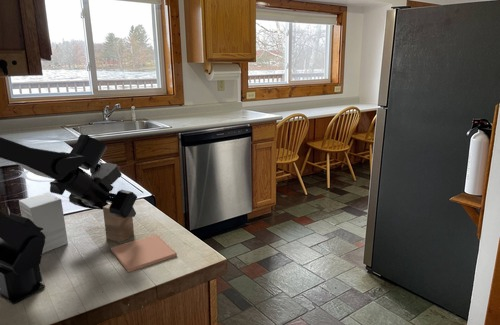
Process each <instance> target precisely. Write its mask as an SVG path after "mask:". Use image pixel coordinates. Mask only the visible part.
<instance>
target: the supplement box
mask: <svg viewBox="0 0 500 325" xmlns="http://www.w3.org/2000/svg"><path fill="white" fill-rule="evenodd" d="M18 205H19V210H20V216H22V217H26V218H29V219H30V220H31V221H32V222H33V223H34V224H35V225H36V226H38V227H41V228H43V230H41V232H43V234H44V235H45V237H46V238H45V244H44V247H43V252H42V254H45V253H47V252H50V251H53V250H54V249H57V248H60V247H62V246H65V245H68V243H69V241H68V235H67V228H66V223H65V215H64V208H63V201H62V199H61V198H60V197H58V196H57V195H54V194H53V193H51V192H45V193H42V194H38V195H33V196H30V197H27V198H23V199H19V200H18Z"/></svg>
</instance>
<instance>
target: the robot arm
mask: <svg viewBox="0 0 500 325" xmlns="http://www.w3.org/2000/svg"><path fill="white" fill-rule="evenodd" d="M107 148H108V146H107V145H106V144H105V143H104V142H103V141H99V140H98V139H97V138H94V137H92V136H90V135H88V134H85V133H81V134H79V136H78V138H77V141H76V142H75V144H74V146H73V147H72V149H71V151H70V152H66V151H61V152H60V151H55V150H54V151H53V150H49V149H42V148H34V147H31V146H27V145H24V144H21V143H18V142H16V141H13V140H10V139H6V138H3V137H1V136H0V159H1V160H4V161H7V162H10V163H12V164H13V163H14V164H16V165H18V166H20V167H21V168H22V169H24V170H25V171H28V172H30V173H32V174H34V175H35V176H38V177H39V176H40V177H44V178H48V179H52V181H50V182H49V185H50V187H49V193H50V194H55V195H59V196H62V195H63V194H64V193H65V191H67V192H68V193H70V194H69V196H68V201H69V203H71V204H73V205H74V206H79V207H82V208H86V209H95V210H102V211H103V207H104V206H106V205H108V204H110V203H111V205H110V207H109V209H110V213H112V214H113V215H115V216H118V217H122V218H126V217H133V218H135V217H136V215H137V212H136V210H135V208H134V205H135V203H136V201H137V199H138V195H137V194H136V193H135V192H133V191H130V190H127V189H126V190H125V189H121V190H118V191H117V193H112V191H113V189H114V186H113V184H115V182H116V181H117V180H118V179H119V178H121V177H122V175H123V174H122V172H121V171H120V168H119V167H118V165H117V164H116V163H111V162H105V163H104V162H101V163H99V162H100V161H101V159H102V157H103V156H104V153H105V152H106V151H107ZM86 171H89V172H90V174H89V173H88V172H86ZM41 230H43V228H41V227H38V226H36V225H35V224H34V223H33V222H32V221H31V220H30V219H29V218H26V217H22V216H21V215H18V214H16V213H13V212H11V213H9V215H8V216H7V215H6V214H4V213H3V212H2V211H0V297H2V298H3V299H4V300H6V301H7V302H9V303H10V304H17V303H19V302H20V301H22V300H25V299H26V298H28V297H30V296H32V295H34V294H36V293H37V292H39V291H42V290H43V289H45V287H46V285H45V284H44V283H42V282H43V281H42V280H43V277H42V271H41V266H40V265H41V262H42V257H43V253H42V252H43V247H44V244H45V238H46V237H45V235H44V234H43V232H41Z"/></svg>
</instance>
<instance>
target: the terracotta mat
mask: <svg viewBox="0 0 500 325" xmlns="http://www.w3.org/2000/svg"><path fill="white" fill-rule="evenodd" d="M110 250H111V252H112V253H113V255H114V256H115V257H116V258H117V259H118V261H119V263H121V265H122V267H123V268H124V269H125V270H126V272H127V273H130V272H133V271H136V270H138V269H139V270H140V269H142V268H145V267H148V266H150V265H154V264H156V263H159V262H164V261H165V260H168V259H172V258H174V257H177V253H178V252H177V251H175V250H174V249H173V248H172V247H171V246H170V245H169V244H168V243H167V242H166V241H165V240H164V239H162V238H161V237H160V236H159V235H158V234H157V233H156V234H152V235H150V236H146V237H143V238H139V239H136V240H133V241H129V242H125V243H121V244H119V245H118V244H117V245H114V246H112V247H111V248H110Z"/></svg>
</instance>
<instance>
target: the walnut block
mask: <svg viewBox="0 0 500 325" xmlns="http://www.w3.org/2000/svg"><path fill="white" fill-rule="evenodd" d="M110 205H111V203H108V205H106V206H104V207H103V210H102V211H103V212H102V213H103V219H104V220H103V221H104V229H105V231H104V232H105V238H106V239H108V240H111V241H115V242H117V243H122V242H123V241H125V240H127V239H128V238H131V236H134V235H135V230H134V229H135V228H134V221H133V220H134V219H133V218H134V217H126V218H122V217H118V216H115V215H113V214H112V213H110V209H109V207H110Z"/></svg>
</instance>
